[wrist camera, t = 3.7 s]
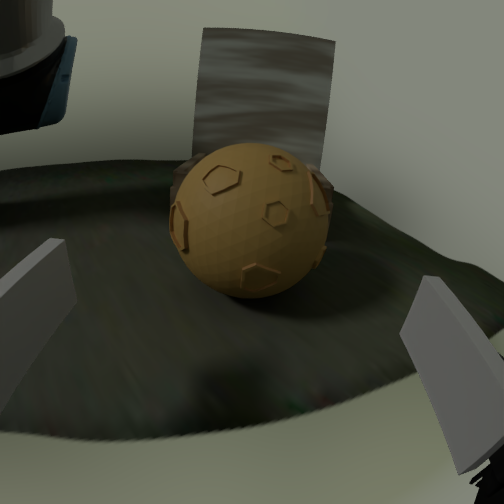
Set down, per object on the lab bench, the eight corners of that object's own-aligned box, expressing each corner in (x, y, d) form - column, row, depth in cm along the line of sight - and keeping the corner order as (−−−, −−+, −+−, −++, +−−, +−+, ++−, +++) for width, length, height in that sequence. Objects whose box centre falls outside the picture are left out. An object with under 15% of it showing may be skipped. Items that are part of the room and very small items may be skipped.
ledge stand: (335, 242, 31) (367, 13, 20) (161, 224, 30) (177, -6, 20) (312, 198, 45) (332, 44, 34) (193, 186, 45) (205, 31, 34)
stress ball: (200, 262, 26) (115, 212, 18) (272, 175, 26) (215, 95, 18) (282, 339, 21) (204, 317, 12) (367, 231, 21) (346, 140, 12)
